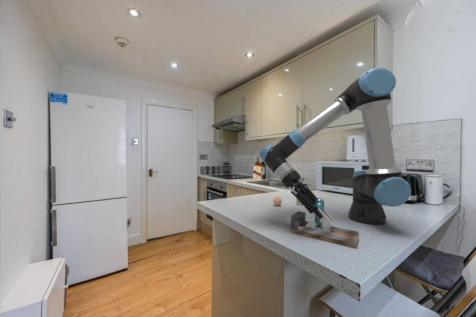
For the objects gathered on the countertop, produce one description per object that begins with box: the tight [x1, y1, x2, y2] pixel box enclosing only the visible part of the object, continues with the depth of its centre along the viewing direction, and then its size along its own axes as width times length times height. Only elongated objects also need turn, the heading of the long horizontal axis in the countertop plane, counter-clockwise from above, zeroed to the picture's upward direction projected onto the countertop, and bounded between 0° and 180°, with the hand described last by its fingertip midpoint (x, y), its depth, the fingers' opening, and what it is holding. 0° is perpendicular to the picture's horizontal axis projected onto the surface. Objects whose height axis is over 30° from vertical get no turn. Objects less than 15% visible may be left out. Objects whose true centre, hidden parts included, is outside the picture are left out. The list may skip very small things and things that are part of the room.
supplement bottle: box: [296, 198, 303, 206], centre depth 120 cm, size 6×6×10 cm
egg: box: [272, 195, 283, 207], centre depth 117 cm, size 5×5×6 cm
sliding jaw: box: [306, 197, 333, 233], centre depth 73 cm, size 8×7×12 cm
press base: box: [290, 210, 360, 249], centre depth 73 cm, size 22×8×6 cm, turn 54°
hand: (330, 223), depth 71 cm, fingers closed on sliding jaw, 3 cm apart
